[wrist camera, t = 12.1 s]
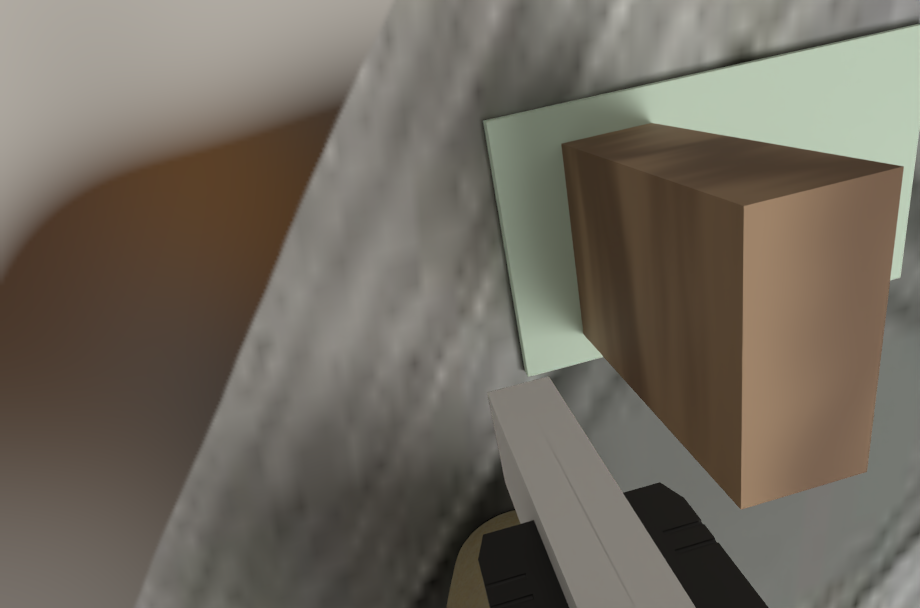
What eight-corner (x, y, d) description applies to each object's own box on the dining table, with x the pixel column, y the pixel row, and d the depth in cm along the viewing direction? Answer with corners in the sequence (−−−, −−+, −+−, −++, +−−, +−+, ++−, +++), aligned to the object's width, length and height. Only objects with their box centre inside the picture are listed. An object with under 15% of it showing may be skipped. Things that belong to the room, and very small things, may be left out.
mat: (524, 371, 28) (528, 376, 28) (482, 120, 24) (486, 121, 23) (890, 273, 30) (900, 277, 30) (920, 23, 25) (933, 22, 25)
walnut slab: (583, 334, 27) (740, 509, 16) (561, 143, 24) (744, 206, 13) (661, 313, 28) (866, 471, 17) (651, 122, 24) (904, 166, 13)
